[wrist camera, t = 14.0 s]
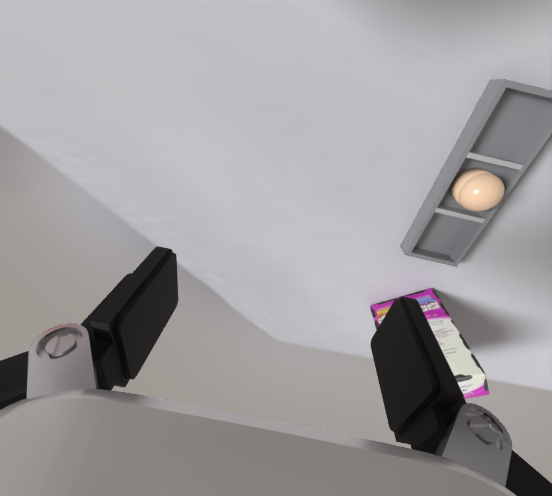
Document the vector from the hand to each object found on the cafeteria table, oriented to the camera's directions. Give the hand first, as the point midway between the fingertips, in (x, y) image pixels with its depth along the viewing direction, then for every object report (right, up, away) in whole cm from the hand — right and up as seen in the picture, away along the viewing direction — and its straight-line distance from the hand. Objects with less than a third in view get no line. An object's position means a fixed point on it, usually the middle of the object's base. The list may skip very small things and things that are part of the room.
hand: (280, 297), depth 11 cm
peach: (+26, +11, +24) cm, 37 cm away
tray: (+26, +11, +25) cm, 37 cm away
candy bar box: (+23, -8, +37) cm, 45 cm away
